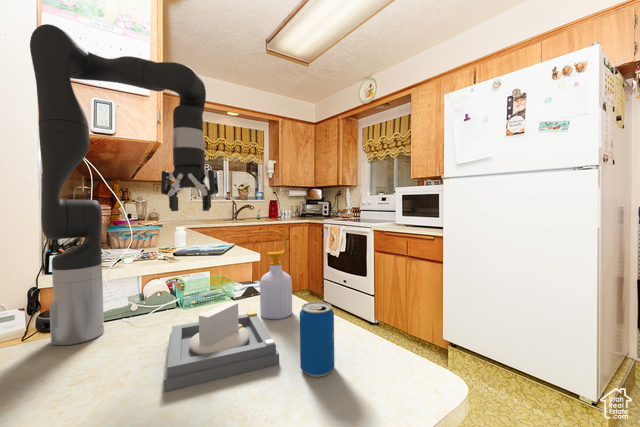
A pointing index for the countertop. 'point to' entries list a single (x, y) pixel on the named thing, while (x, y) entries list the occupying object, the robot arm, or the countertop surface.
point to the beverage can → (317, 339)
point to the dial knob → (219, 331)
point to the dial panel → (217, 355)
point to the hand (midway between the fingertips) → (190, 211)
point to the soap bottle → (276, 288)
